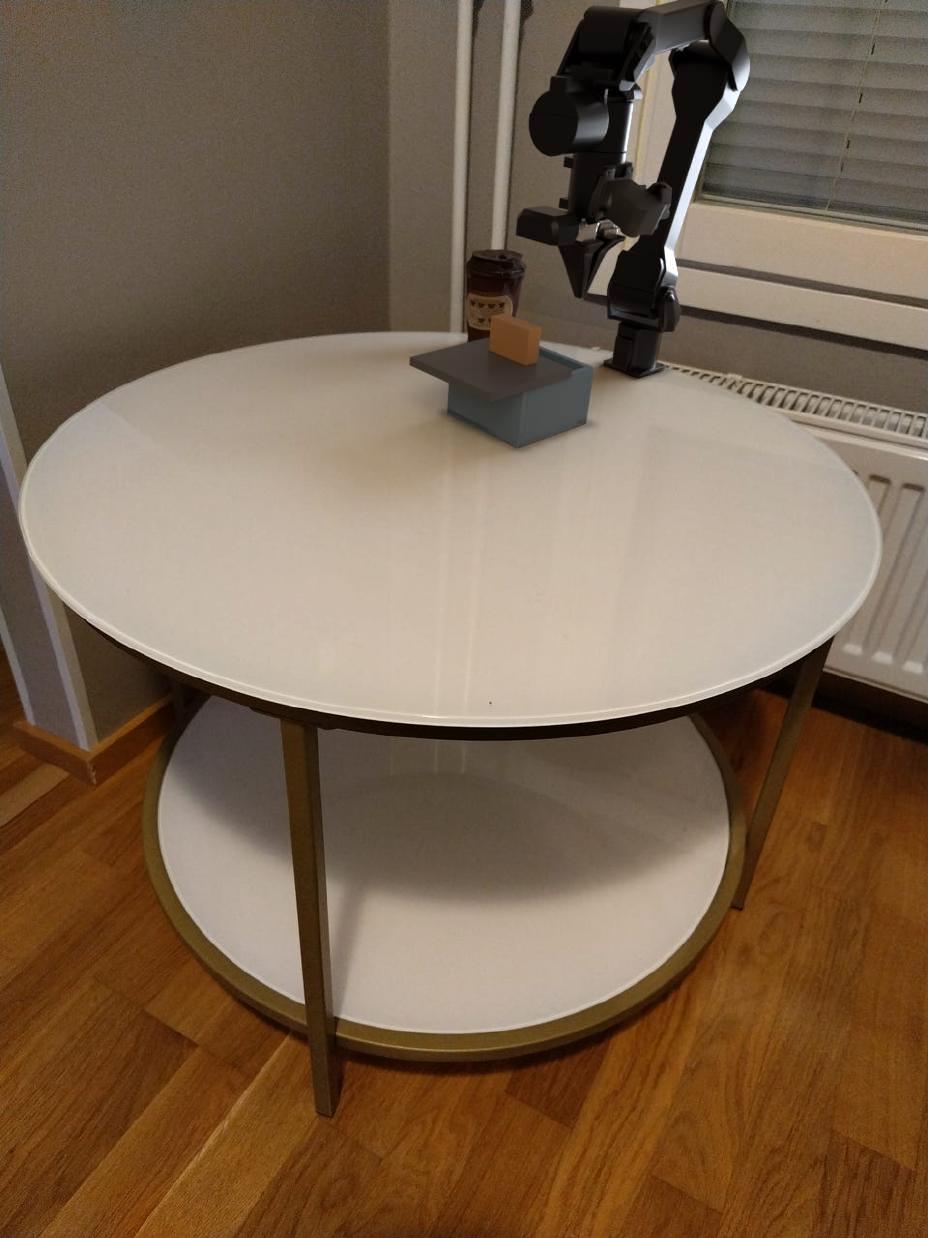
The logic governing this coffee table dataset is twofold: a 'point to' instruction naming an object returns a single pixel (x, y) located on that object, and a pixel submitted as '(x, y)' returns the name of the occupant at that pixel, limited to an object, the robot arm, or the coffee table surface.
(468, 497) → the coffee table surface
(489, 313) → the coffee cup
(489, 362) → the lid
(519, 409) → the bin
